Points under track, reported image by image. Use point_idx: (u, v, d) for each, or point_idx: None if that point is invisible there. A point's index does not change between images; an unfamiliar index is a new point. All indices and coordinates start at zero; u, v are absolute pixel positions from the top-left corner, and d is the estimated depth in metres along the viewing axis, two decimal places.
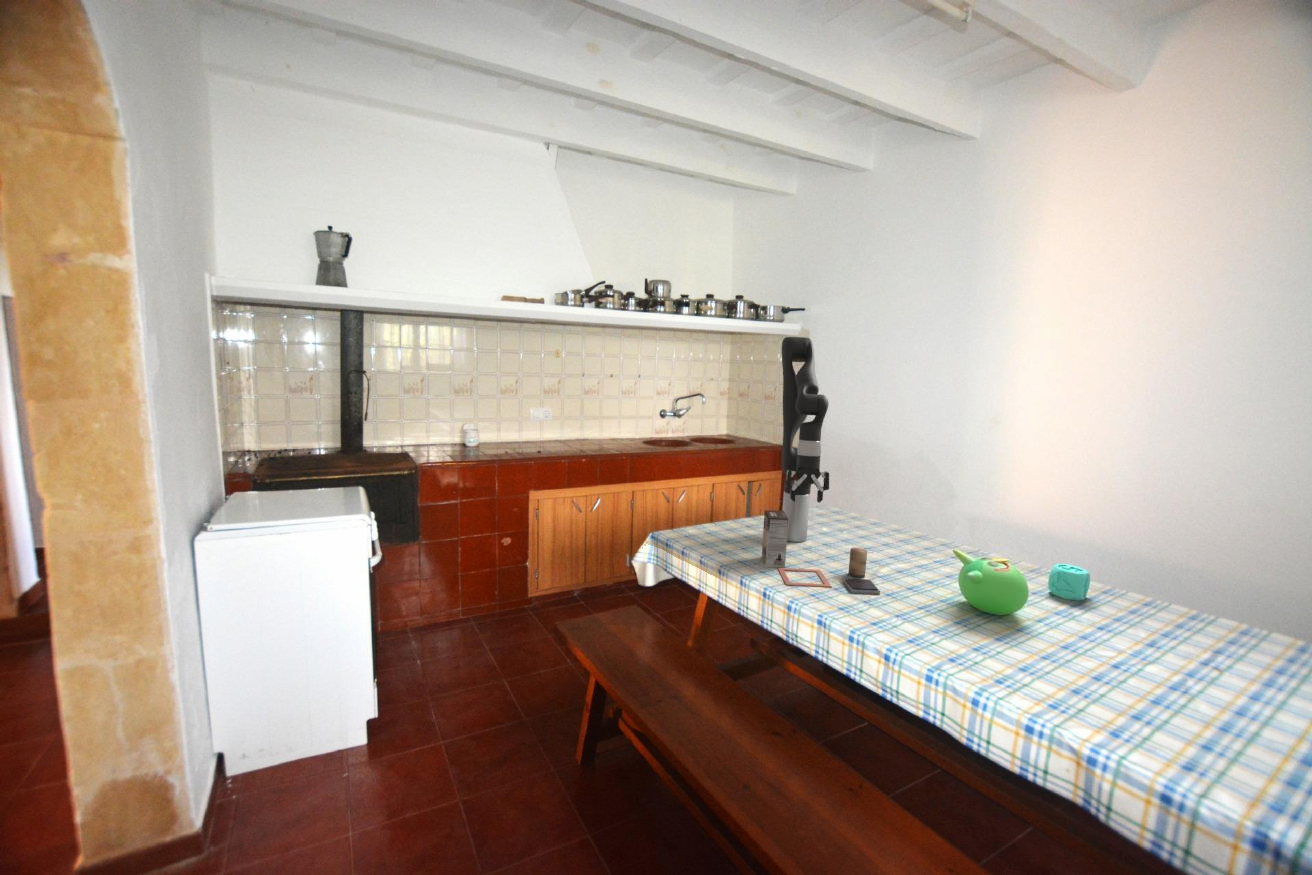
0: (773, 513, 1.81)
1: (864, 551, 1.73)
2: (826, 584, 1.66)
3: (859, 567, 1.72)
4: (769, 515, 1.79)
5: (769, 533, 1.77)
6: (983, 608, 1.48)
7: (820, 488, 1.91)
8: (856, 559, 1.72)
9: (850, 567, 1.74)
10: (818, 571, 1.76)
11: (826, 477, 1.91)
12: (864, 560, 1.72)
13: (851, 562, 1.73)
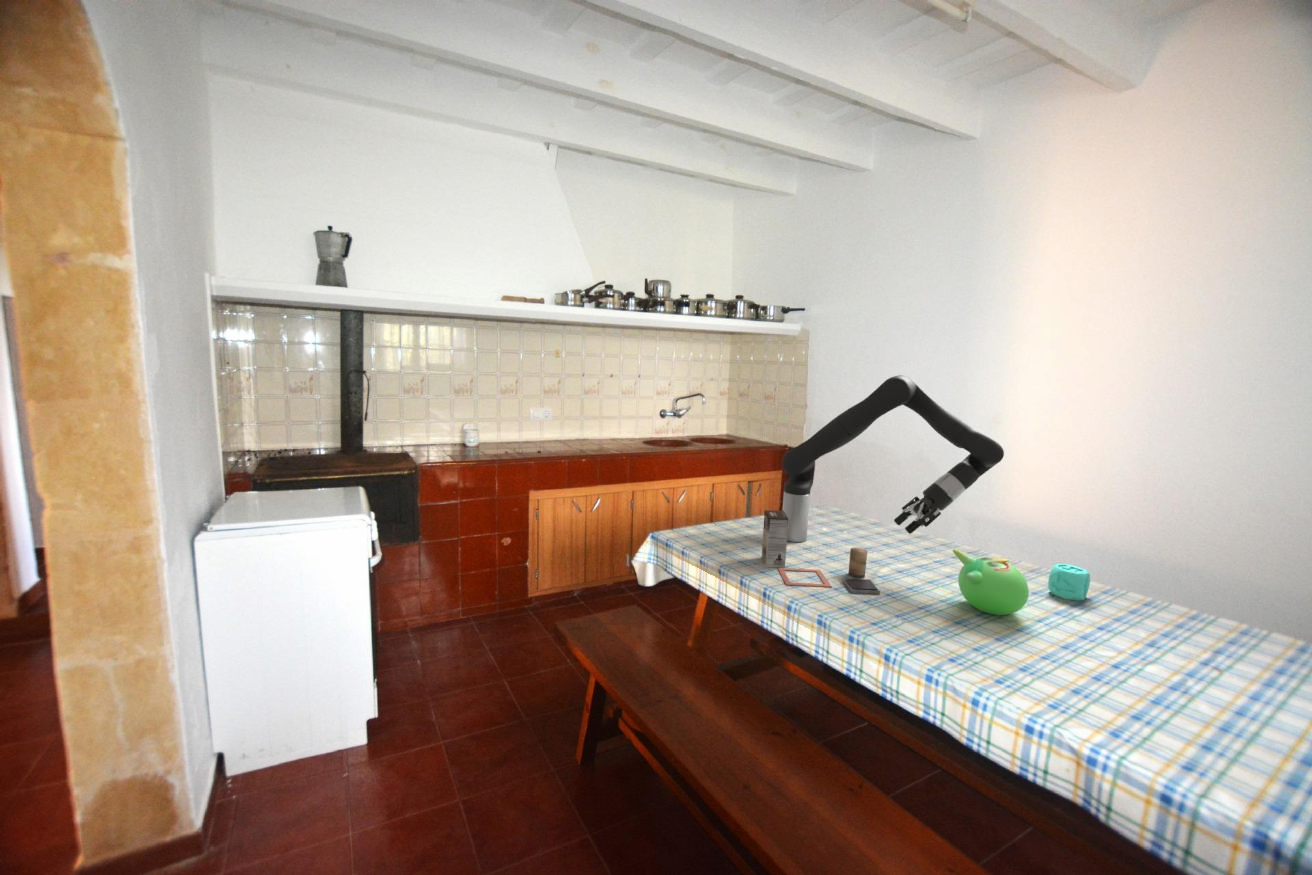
0: (773, 513, 1.81)
1: (864, 551, 1.73)
2: (826, 584, 1.66)
3: (859, 567, 1.72)
4: (769, 515, 1.79)
5: (769, 533, 1.77)
6: (983, 608, 1.48)
7: None
8: (856, 559, 1.72)
9: (850, 567, 1.74)
10: (818, 571, 1.76)
11: None
12: (864, 560, 1.72)
13: (851, 562, 1.73)
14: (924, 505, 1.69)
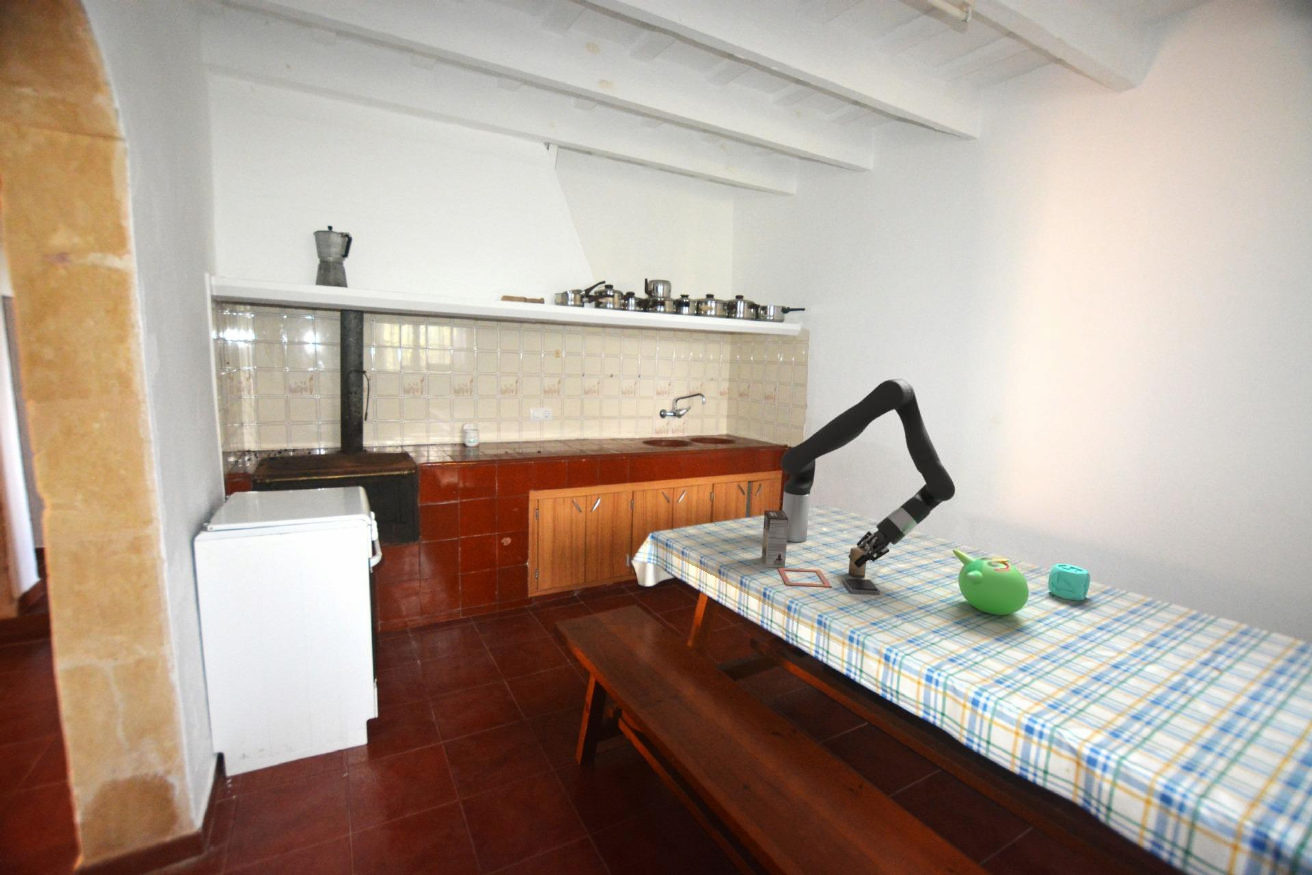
0: (773, 513, 1.81)
1: (864, 551, 1.72)
2: (826, 584, 1.66)
3: None
4: (769, 515, 1.79)
5: (769, 533, 1.77)
6: (983, 608, 1.48)
7: None
8: (856, 559, 1.72)
9: (850, 567, 1.74)
10: (818, 571, 1.76)
11: None
12: None
13: (851, 562, 1.73)
14: (876, 540, 1.71)
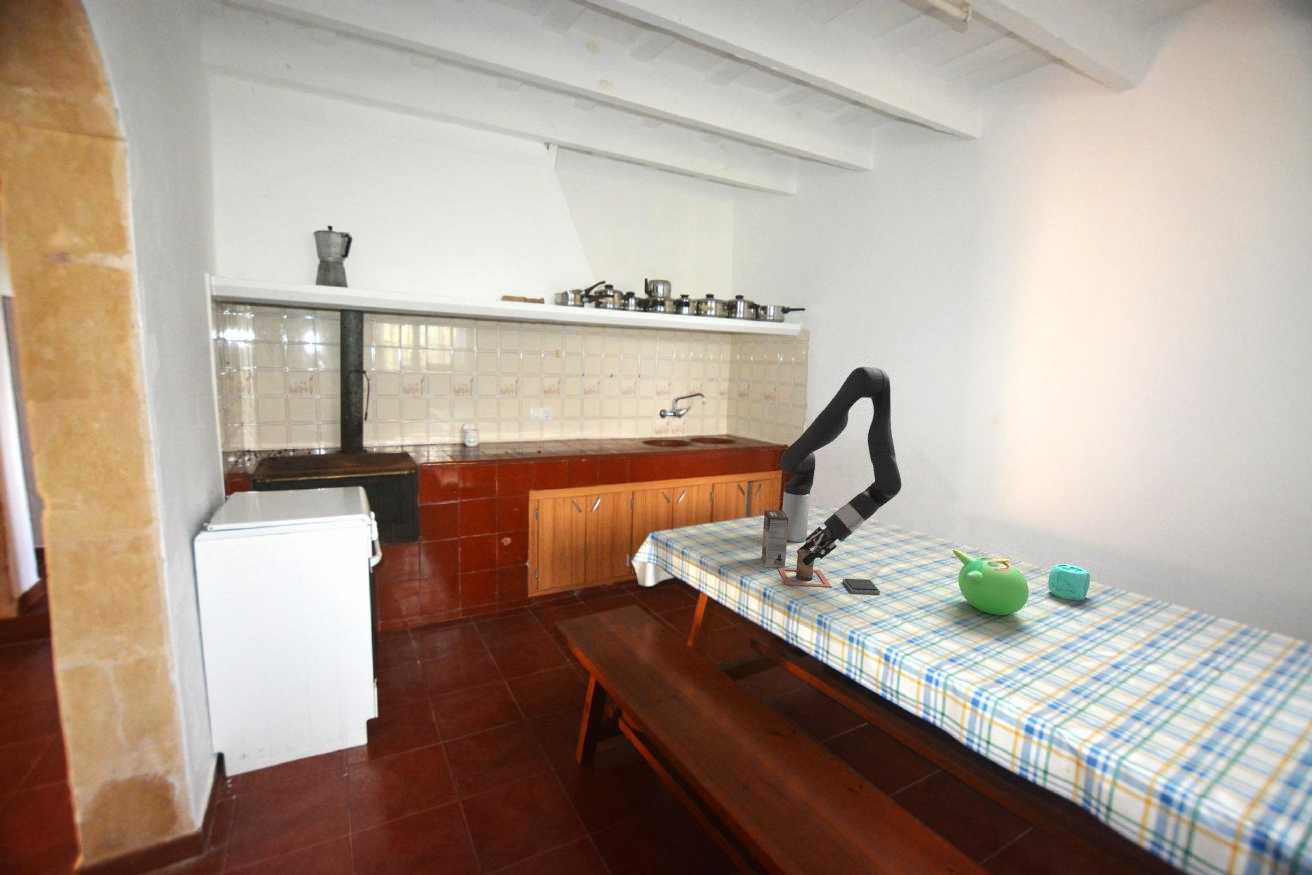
0: (773, 513, 1.81)
1: None
2: (826, 584, 1.66)
3: (805, 569, 1.68)
4: (769, 515, 1.79)
5: (769, 533, 1.77)
6: (983, 608, 1.48)
7: None
8: (802, 561, 1.68)
9: (797, 569, 1.70)
10: (818, 571, 1.76)
11: None
12: (811, 562, 1.68)
13: (798, 564, 1.70)
14: (823, 536, 1.67)
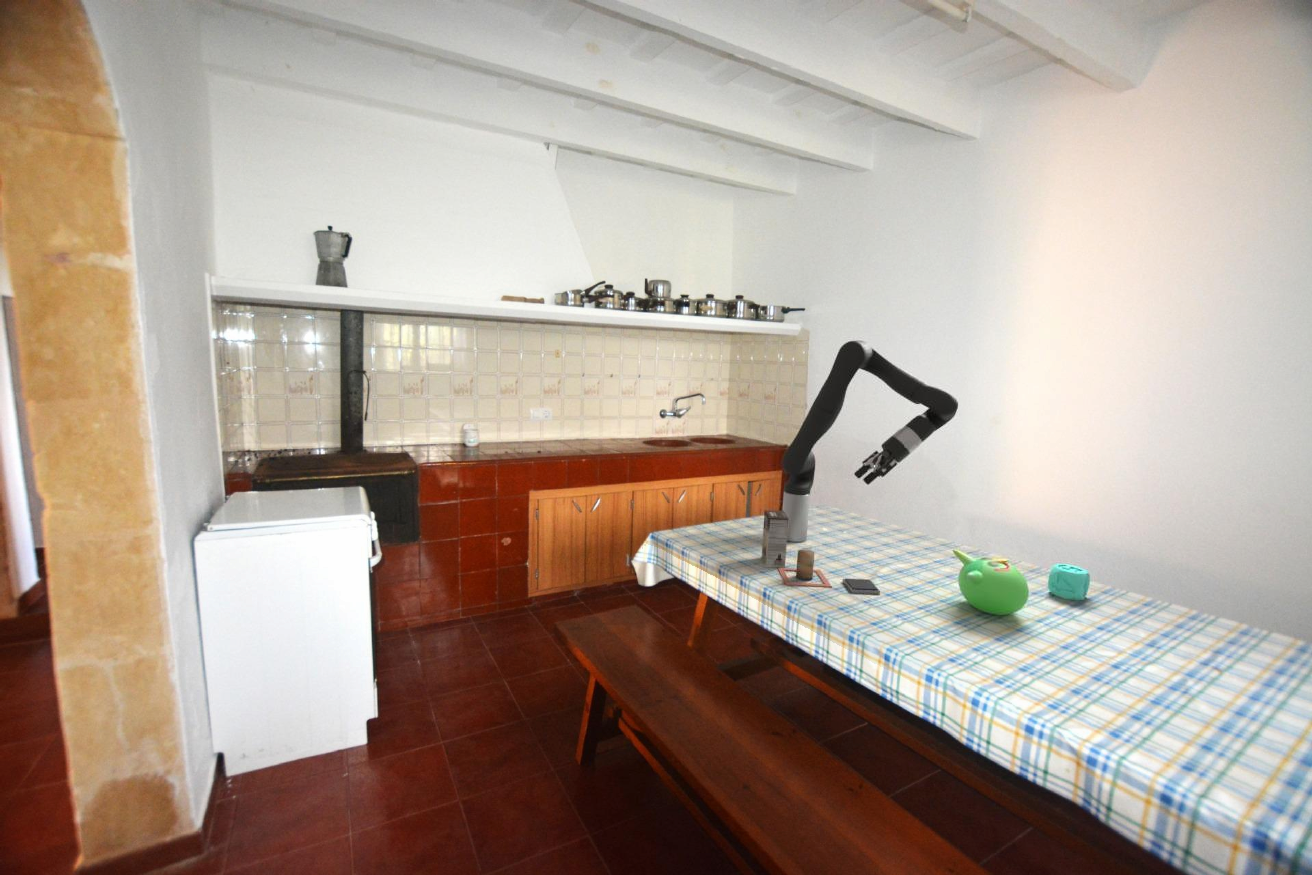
0: (773, 513, 1.81)
1: (811, 553, 1.69)
2: (826, 584, 1.66)
3: (805, 569, 1.68)
4: (769, 515, 1.79)
5: (769, 533, 1.77)
6: (983, 608, 1.48)
7: None
8: (802, 561, 1.68)
9: (797, 569, 1.70)
10: (818, 571, 1.76)
11: None
12: (811, 562, 1.68)
13: (798, 564, 1.70)
14: (882, 457, 1.73)
